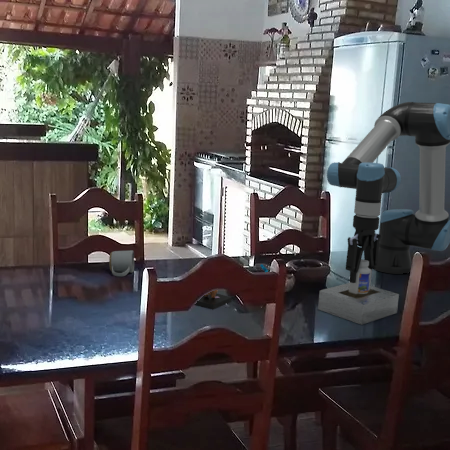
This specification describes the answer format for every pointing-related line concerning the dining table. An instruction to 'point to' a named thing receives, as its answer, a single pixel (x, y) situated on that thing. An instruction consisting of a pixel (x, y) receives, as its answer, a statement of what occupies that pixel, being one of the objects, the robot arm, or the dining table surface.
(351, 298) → the white flat square box
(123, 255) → the ceramic mug
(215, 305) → the figurine
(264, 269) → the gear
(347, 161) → the robot arm
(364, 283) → the pill bottle
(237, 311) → the dining table surface
